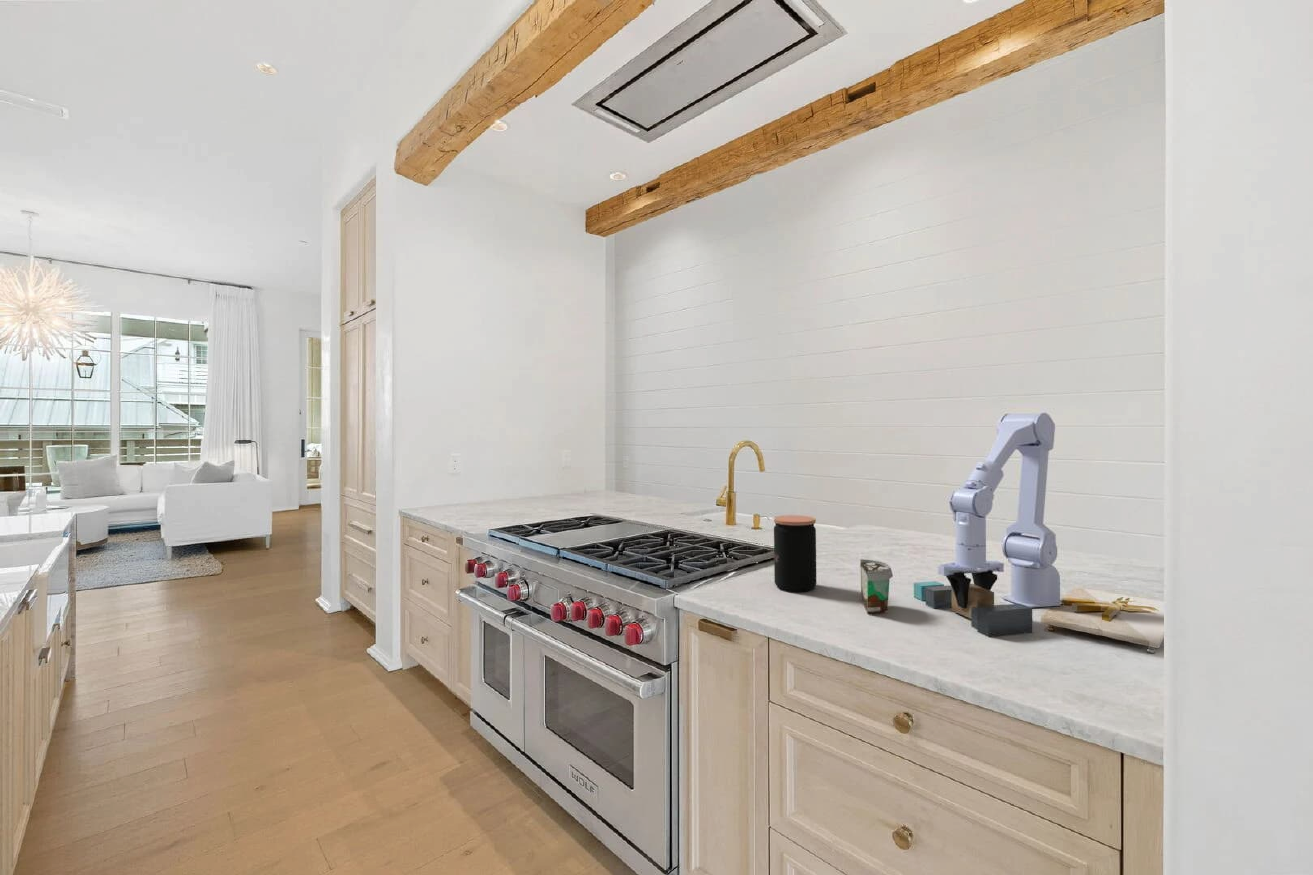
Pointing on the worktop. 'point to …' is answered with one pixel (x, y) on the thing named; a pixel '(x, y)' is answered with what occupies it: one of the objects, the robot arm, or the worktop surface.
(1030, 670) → the worktop surface
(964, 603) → the robot arm
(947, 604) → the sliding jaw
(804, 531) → the coffee jar
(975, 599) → the walnut block
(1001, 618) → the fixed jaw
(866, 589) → the food container
